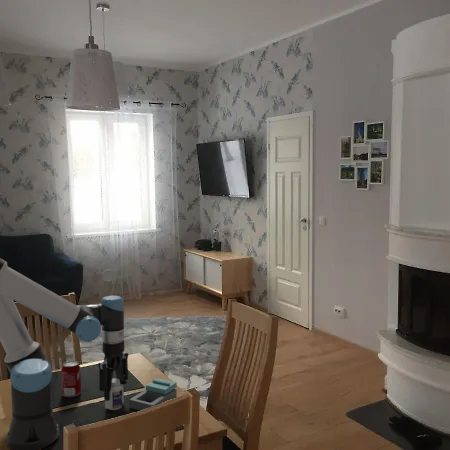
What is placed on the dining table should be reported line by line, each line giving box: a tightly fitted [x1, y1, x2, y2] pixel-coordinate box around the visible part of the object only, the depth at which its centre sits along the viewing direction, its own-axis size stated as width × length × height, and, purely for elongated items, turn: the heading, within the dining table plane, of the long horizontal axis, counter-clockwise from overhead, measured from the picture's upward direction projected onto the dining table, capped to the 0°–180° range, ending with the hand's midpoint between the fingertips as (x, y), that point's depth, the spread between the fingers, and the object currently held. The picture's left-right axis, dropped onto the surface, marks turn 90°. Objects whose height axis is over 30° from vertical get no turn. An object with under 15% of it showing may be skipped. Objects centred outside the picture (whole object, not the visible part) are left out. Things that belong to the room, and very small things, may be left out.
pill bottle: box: [107, 377, 123, 411], centre depth 180 cm, size 5×5×10 cm
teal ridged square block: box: [145, 378, 177, 394], centre depth 188 cm, size 8×8×3 cm
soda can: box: [61, 360, 82, 398], centre depth 190 cm, size 7×7×12 cm
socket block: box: [128, 388, 178, 411], centre depth 184 cm, size 15×10×3 cm, turn 153°
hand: (114, 404), depth 180 cm, fingers closed on pill bottle, 5 cm apart
